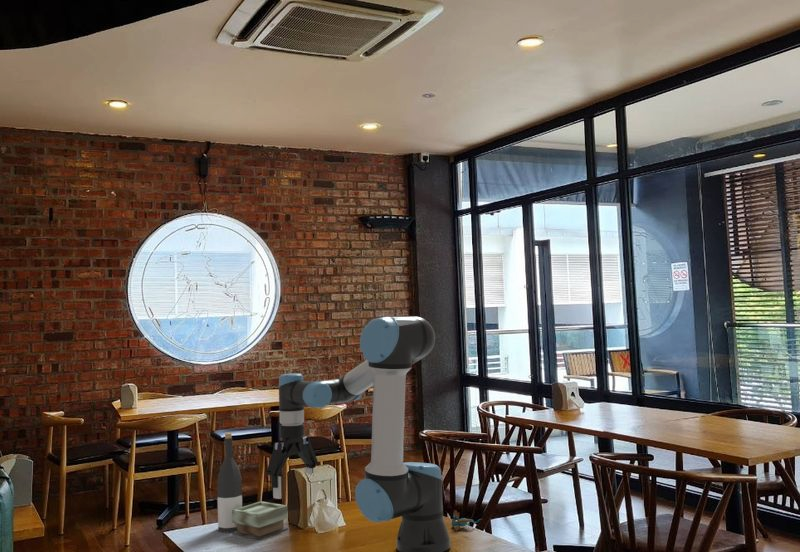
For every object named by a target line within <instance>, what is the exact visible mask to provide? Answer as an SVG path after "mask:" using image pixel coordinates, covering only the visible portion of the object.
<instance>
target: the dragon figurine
mask: <svg viewBox="0 0 800 552" xmlns="http://www.w3.org/2000/svg"><path fill="white" fill-rule="evenodd" d="M452 513H453V514H452V517H453V518H452V519H451V524H450V525H451V526H452V527H453V528H454V530H455V532H457V531H459V530H461V527H465V526H468V525H469V526H470V525H471V524H470V523H473V524H476V523H478V522H480V520H483V518H479V519H478V520H477V521H474V519H471V518H465V517H463V518H460V511H459V512H458V510H455V509H454V510H453V512H452ZM456 519H457V520H456Z"/></svg>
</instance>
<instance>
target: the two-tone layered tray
mask: <svg viewBox="0 0 800 552" xmlns="http://www.w3.org/2000/svg"><path fill="white" fill-rule="evenodd" d="M288 506H289V505H286V504H280V503H275V502H269V501H268V502H267V501H257V502H254V503H250V504H247V505H244V506H243V505H242V507H240V508H237V509H233V510H232V523H237V531H235V532H231V533H232V535H234V534H236V536H239V537H244V538H247V539H253V540H258V541H259V540H263V539H266V538H269V537H273V536H275V535H277V534H280V533H282V532H286V531H288V530H289V527H285V525H284V520H287V519H288V518H289V510H288V509H289V508H288Z"/></svg>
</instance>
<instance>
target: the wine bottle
mask: <svg viewBox="0 0 800 552" xmlns="http://www.w3.org/2000/svg"><path fill="white" fill-rule="evenodd" d="M232 436H233V435H232V432H227V433H226V432H225V434H224V439H223V440H224V454H225V455H224V459H223V462H222V464H221V466H220V469H219V472H218V475H217V481H216V486H217V487H216V489H217V490H216V491H217V493H216V494H217V495H216V496H217V529H218V532H220V533H224V532H225V533H226V532H229V533H232V532H235V531H237V523H232V510H233V509H237V508H240V507H243V491H242V490H243V488H242V487H243V485H242V475H241V471H240V469H239V466H238V464H237V463H236V461H235V459H234V456H233V437H232Z"/></svg>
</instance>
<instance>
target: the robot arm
mask: <svg viewBox="0 0 800 552" xmlns="http://www.w3.org/2000/svg"><path fill="white" fill-rule="evenodd" d="M435 343H436V332H435V330H434V328H433V326H432V325H431V323H430V322H429V321H427V320H426V319H425V318H423V317H420V316H415V315H410V316H409V315H408V316H383V317H377V318H373V319H372V320H370V321H369V322H368V323H367V324H366V325H365V326H364V328H363V329H362V331H361V335H360V338H359V347H360V352H361V353H362V356H363V358H364V361H362V362H361V363H360V364H358V365H357V366H355V367H354V368H352V369H351V370H350V371H348V372H346V373H345V374H344V375H342V376H341V377H339V378H334V379H332V378H331V379H325V380H314V381H312V380H311V381H307V380H306V381H305V380H304V375H303V374H302V373H300V372H299V373H298V372H297V373H296V372H295V373H294V372H293V373H283V374H281V375H279V377H278V388H277V389H278V407H279V408H278V409H279V423H280V425H279V437H280V438H281V442H273V449H272V452H271V456H270V459H269V461H268V462H269V463H268V464H267V465H268V466H267V468H266V472H265V474H266V476H269V477H271V488H272V496H273V497H272V498H273V499H276V500H281V499H282V476H280V475H281V472H282V470H283V468H284V466H285V464H286V462H287V461H288V459H289V458H290V457H291V456H294V455H298V457H299V458H300V459H301V461H302V463H303V464H304V465H305V466H306V467H304V469H303V472H305V473H308V474H310V475H312V473H313V474H314V469H315V468H316V467H317V465H318V464H319V461H318V458H317V455H316V453H315V450H314V447H313V445H312V442H311V441H312V440H311V437H310V436H307V435H306V436H305V424H304V422H305V409H304V408H305V407H310V408H313V409H317V408H319V409H320V408H321V409H323V408H325V407H326V406H328V405H336V404H344V403H352V402H354V401H355V402H356V401H358V400H360V399H361V398H362V395H364V392H365V391H367V390H369V389H370V388H372V418H371V420H372V421H371V422H372V423H371V449H370V450H371V453H370V454H371V456H370V462H369V463H368V464H367V465H366V466H365V467H364V478H363V479H361V480H360V481H359V482H358V484H357V485H356V487H355V491H354V493H355V494H354V495H355V502H356V505H357V507H358V510H359V511H361V514H362V516H364V517H365V518H366V520H368V521H370V522H372V523H383V522H390V521H391V520H394V519H396V518H400V517H401V521H400V525H399V528H398V532H397V537H396V540H395V541H396V549H397V550H398V551H399V552H445V551H447V550H449V549H450V548H451V547H452V546H451V537H450V535H449V532H448V529H447V526H446V523H445V520H444V509H443V508H444V506H443V502H444V501H443V478H442V470H441V468H440V466H438V465H437V464H435V463H431V462H430V463H429V462H428V463H427V462H416V461H415V462H413V461H412V462H411V461H409V462H404V440H405V438H404V437H405V410H406V405H405V404H406V380H407V379H406V377H407V373H408V372H409V371H410V370H412V365H414V364H415V363H417V362H419V361H421V360H422V359H424V358H425V357H427V356H428V355H429V354H431V352H432V350H433V349H434V347H435ZM308 467H309V468H308Z"/></svg>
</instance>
